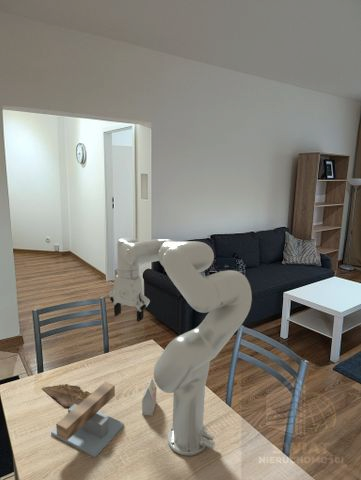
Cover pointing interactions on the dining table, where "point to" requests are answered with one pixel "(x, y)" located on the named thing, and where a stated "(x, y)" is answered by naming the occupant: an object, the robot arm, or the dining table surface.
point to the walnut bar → (85, 411)
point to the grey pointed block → (149, 399)
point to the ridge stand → (93, 433)
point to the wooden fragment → (67, 394)
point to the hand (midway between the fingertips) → (128, 317)
